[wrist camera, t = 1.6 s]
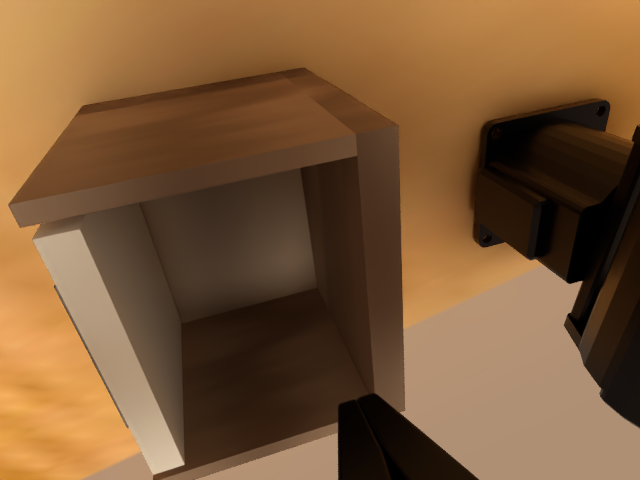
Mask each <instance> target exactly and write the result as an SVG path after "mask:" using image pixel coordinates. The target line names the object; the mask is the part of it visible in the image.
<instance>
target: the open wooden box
mask: <svg viewBox="0 0 640 480" xmlns="http://www.w3.org/2000/svg"><path fill="white" fill-rule="evenodd" d="M138 202H139V204H140V207H141V210H142V213H143V215H144V218H145V221H146V224H147V227H148V229H149V232H150V235H151V238H152V241H153V244H154V246H155V249H156V252H157V255H158V258H159V260H160V263H161V266H162V269H163V272H164V274H165V277H166V280H167V283H168V286H169V289H170V291H171V294H172V297H173V300H174V303H175V305H176V308H177V311H178V314H179V317H180V320H181V340H182V379H183V418H184V458H185V465H182V466H179V467H176V468H173V469H170V470H167V471H164V472H161V473H157V474H154V475H153V480H195V479H198V478H201V477H204V476H207V475H210V474H213V473H216V472H219V471H222V470H225V469H228V468H231V467H234V466H237V465H241V464H244V463H247V462H249V461H253V460H256V459H259V458H262V457H265V456H268V455H271V454H274V453H277V452H280V451H283V450H286V449H289V448H292V447H295V446H298V445H301V444H304V443H307V442H311V441H314V440H317V439H320V438H322V437H326V436H329V435H332V434H335V433H338V405H339V403H342V402H345V401H348V400H352V399H356V400H357V399H358V398H359V397H361V396H364V395H367V394H371V393H376V394H378V395H379V396H380V397H382V398H383V399H384V400H385V401H386V402H388V403H389V404H390V405H391V406H392V407H393V408H395V409H396V410H397V411H398V412H402V411H405V386H404V345H403V302H402V261H401V219H400V177H399V135H398V125H397V124H395V123H394V122H392V121H391V120H389V119H387V118H386V117H384V116H382V115H381V114H379V113H378V112H376V111H374V110H373V109H371V108H369V107H368V106H366V105H364V104H363V103H361V102H360V101H358V100H356V99H355V98H353V97H351V96H350V95H348V94H347V93H345V92H343V91H342V90H340V89H338V88H337V87H335V86H334V85H332V84H330V83H329V82H327V81H325V80H324V79H322V78H321V77H319V76H317V75H316V74H314V73H312V72H311V71H309V70H307V69H306V68H299V69H293V70H287V71H282V72H276V73H270V74H264V75H258V76H253V77H247V78H241V79H235V80H229V81H224V82H218V83H212V84H206V85H200V86H195V87H189V88H183V89H177V90H172V91H166V92H160V93H154V94H148V95H143V96H137V97H131V98H125V99H119V100H114V101H108V102H102V103H96V104H90V105H85V106H82V107H81V109H80V110H79V111H78V113H77V114H76V115H75V117H74V118H73V119H72V121H71V122H70V123H69V125H68V126H67V127H66V129H65V130H64V131H63V133H62V134H61V135H60V137H59V138H58V139H57V141H56V142H55V143H54V145H53V146H52V147H51V149H50V150H49V151H48V153H47V154H46V155H45V157H44V158H43V159H42V161H41V162H40V163H39V165H38V166H37V167H36V169H35V170H34V171H33V173H32V174H31V175H30V177H29V178H28V179H27V180H26V182H25V183H24V184H23V186H22V187H21V188H20V190H19V191H18V192H17V194H16V195H15V196H14V198H13V199H12V200H11V202H10V203H9V204H8V206H9V208H10V210H11V211H12V213H13V215H14V217H15V219H16V221H17V223H18V225H19V227H20V228H21V227H26V226H31V225H35V224H40V223H45V222H49V221H54V220H59V219H63V218H68V217H73V216H77V215H82V214H87V213H91V212H96V211H101V210H106V209H110V208H115V207H120V206H124V205H129V204H134V203H138Z"/></svg>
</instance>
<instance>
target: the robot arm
mask: <svg viewBox="0 0 640 480" xmlns="http://www.w3.org/2000/svg"><path fill="white" fill-rule="evenodd" d="M598 108H599V109H598ZM597 109H598V111H597ZM609 111H610V104H609V102H608V101H606V100H602V99H593V100H588V101H583V102H578V103H574V104H569V105H564V106H559V107H555V108H550V109H545V110H541V111H536V112H531V113H526V114H522V115H517V116H512V117H507V118H503V119H498V120H493V121H491V122H489V123H487V124H486V125H485V127H484V128H483V131H482V139H481V153H480V167H479V172H478V177H477V191H476V205H475V219H476V221H475V235H474V239H475V241H476V243H477V244H479V245H480V246H481V247H489V246H493V245H497V244H500V243H504V242H506V243H508V244H509V245H510V246H511V247H513V248H514V249H515V250H517V251H518V252H519V253H521V254H522V255H523V256H524V257H526V258H527V259H528V260H534V259H536V260H538V261H539V262H540V263H542V264H543V265H544V266H546V267H547V268H548V269H550V270H551V271H552V272H554V273H555V274H556V275H558V276H559V277H560V278H562V279H563V280H565V281H566V282H567V283H569V284H572V283H575V282H578V281H583V282H582V284H581V287H580V290H579V292H578V295H577V298H576V300H575V303H574V306H573V309H572V311H571V313H569V314H568V315H567V318H566V321H565V323H564V326H565V328H566V330H567V331H568V333H569V334H570V336H571V338H572V339H573V341H574V343H575V344H576V346H577V347H578V349H579V351H580V354H581V357H582V360H583V364H584V366H585V367H586V369H587V370H588V372H589V373H590V374H591V376H592V377H593V379H594V380H595V381H596V382H597V384H598V385H599V387H601V391H600V397H601V398H602V399H603V401H604V402H605V403H606V404H607V405H609V406H610V407H611V408H612V409H613V410H615V411H616V412H617V413H619V415H621V416H622V417H623V418H624V419H626V420H627V421H629V422H630V423H632V424H634V425H635V426H637V427H638V428H640V124H639V125H637V127H636V129H635V132H634V135H633V138H632V141H630V140H627V139H624V138H621V137H618V136H615V135H612V134H609V133H606V132H605V130H606V125H607V120H608V116H609ZM596 112H597V113H596ZM495 129H497V131H496V134H495V135H494V136H492V133H493V131H494V130H495ZM486 235H487V237H486V238H485V239H483V238H484V237H485V236H486ZM338 480H479V479H478V478H476V477H475V476H474V475H473V474H472V473H471V472H470V471H468V470H467V469H466V468H465V467H464V466H462V465H461V464H460V463H459V462H458V461H456V460H455V459H454V458H453V457H451V456H450V455H449V454H448V453H447V452H446V451H445V450H443V449H442V448H441V447H440V446H438V445H437V444H436V443H435V442H434V441H433V440H431V439H430V438H429V437H428V436H427V435H426V434H424V433H423V432H422V431H421V430H420V429H418V428H417V427H416V426H415V425H414V424H412V423H411V422H410V421H409V420H408V419H406V418H405V417H404V416H403V415H402V414H401V413H399V412H398V411H397V410H396V409H395V408H393V407H392V406H391V405H390V404H389V403H388V402H386V401H385V400H384V399H383V398H382V397H380V396H379V395H378V394H376V393H371V394H367V395H364V396H361V397H359V398H358V399H357V400H356V399H352V400H348V401H345V402H342V403H339V405H338Z"/></svg>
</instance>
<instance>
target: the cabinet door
mask: <svg viewBox="0 0 640 480" xmlns="http://www.w3.org/2000/svg"><path fill="white" fill-rule="evenodd" d="M32 240H33V242H34V244H35V246H36V248H37V250H38V252H39V254H40V256H41V258H42V260H43V262H44V263H45V265H46V267H47V269H48V271H49V273H50V275H51V277H52V279H53V281H54V283H55V286H54V288H55V290H56V292H57V294H58V295H59V297H60V299H61V301H62V303H63V305H64V307H65V309H66V311H67V313H68V315H69V317H70V319H71V321H72V322H73V324H74V326H75V328H76V330H77V332H78V334H79V336H80V338H81V340H82V342H83V344H84V346H85V348H86V349H87V351H88V353H89V355H90V357H91V359H92V361H93V363H94V365H95V367H96V369H97V371H98V373H99V375H100V376H101V378H102V380H103V382H104V384H105V386H106V388H107V390H108V392H109V394H110V396H111V398H112V400H113V402H114V403H115V405H116V407H117V409H118V411H119V413H120V415H121V417H122V419H123V421H124V423H125V425H126V427H127V428H129V429H130V430H131V432H132V434H133V436H134V438H135V440H136V442H137V444H138V446H139V448H140V450H141V452H142V454H143V456H144V458H145V459H146V461H147V464H148V465H149V467H150V469H151V471H152V473H153V475H154V474H157V473H161V472H164V471H167V470H170V469H173V468H176V467H179V466H182V465H185V458H184V418H183V379H182V340H181V320H180V317H179V314H178V311H177V308H176V305H175V303H174V300H173V297H172V294H171V291H170V289H169V286H168V283H167V280H166V277H165V274H164V272H163V269H162V266H161V263H160V260H159V258H158V255H157V252H156V249H155V246H154V244H153V241H152V238H151V235H150V232H149V229H148V227H147V224H146V221H145V218H144V215H143V213H142V210H141V207H140V204H139V202H138V203H134V204H129V205H124V206H120V207H115V208H110V209H106V210H101V211H96V212H91V213H87V214H82V215H77V216H73V217H68V218H63V219H59V220H54V221H49V222H45V223H41V225H40V227H39V228H38V230H37V232H36V234H35V236H34V237H33V239H32Z"/></svg>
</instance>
